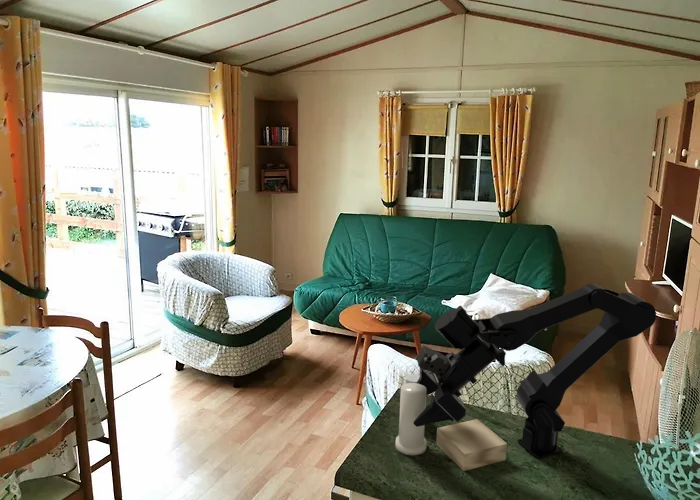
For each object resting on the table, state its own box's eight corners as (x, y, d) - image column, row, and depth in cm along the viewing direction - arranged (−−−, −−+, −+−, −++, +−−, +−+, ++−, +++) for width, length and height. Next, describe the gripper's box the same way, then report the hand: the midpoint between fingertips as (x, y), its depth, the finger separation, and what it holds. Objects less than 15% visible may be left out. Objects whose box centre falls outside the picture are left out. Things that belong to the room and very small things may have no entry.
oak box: (475, 435, 117) (477, 419, 116) (505, 461, 108) (507, 443, 107) (436, 445, 113) (437, 427, 113) (463, 472, 104) (464, 454, 104)
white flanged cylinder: (416, 435, 116) (419, 379, 113) (432, 451, 110) (435, 393, 108) (390, 441, 114) (392, 384, 111) (404, 458, 108) (407, 398, 105)
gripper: (432, 319, 116) (379, 367, 118) (453, 355, 98) (390, 410, 100) (466, 354, 118) (413, 400, 120) (492, 395, 100) (429, 448, 102)
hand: (411, 412), depth 110 cm, fingers open, 9 cm apart
